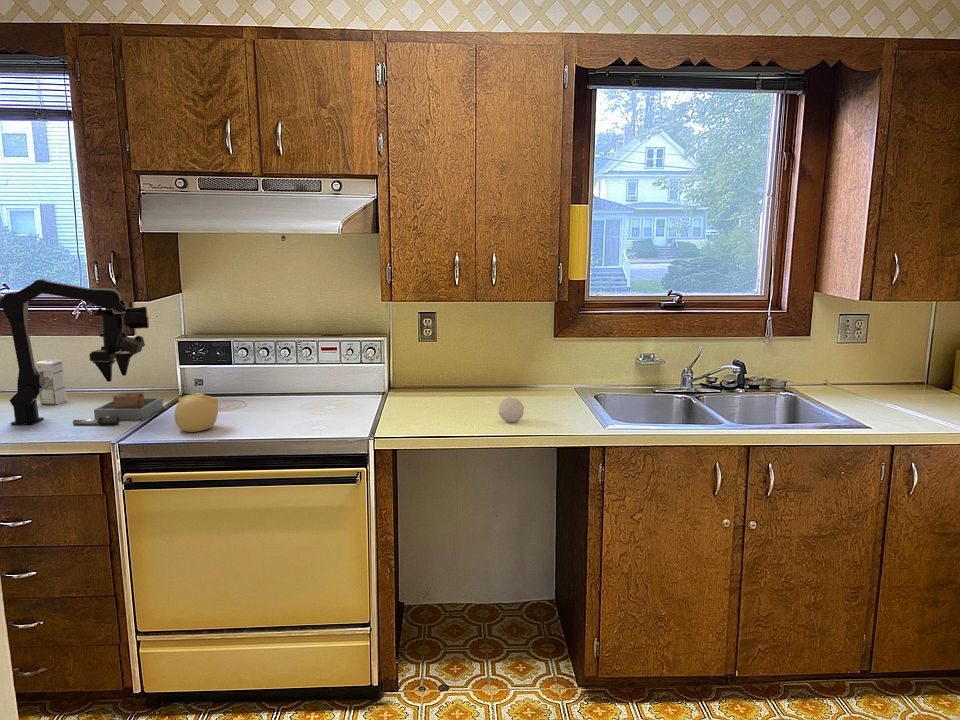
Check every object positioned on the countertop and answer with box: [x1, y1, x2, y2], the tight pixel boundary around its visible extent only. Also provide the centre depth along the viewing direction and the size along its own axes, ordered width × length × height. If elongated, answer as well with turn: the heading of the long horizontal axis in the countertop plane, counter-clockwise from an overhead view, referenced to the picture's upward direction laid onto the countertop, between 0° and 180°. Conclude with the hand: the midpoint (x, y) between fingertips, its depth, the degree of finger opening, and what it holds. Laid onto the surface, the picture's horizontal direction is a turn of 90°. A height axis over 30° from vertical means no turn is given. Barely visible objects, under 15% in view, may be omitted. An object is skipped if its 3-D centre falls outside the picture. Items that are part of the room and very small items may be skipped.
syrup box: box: [35, 359, 68, 405], centre depth 237 cm, size 6×6×14 cm
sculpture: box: [174, 392, 219, 433], centre depth 206 cm, size 12×12×11 cm
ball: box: [498, 396, 525, 424], centre depth 214 cm, size 8×8×8 cm
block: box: [112, 391, 145, 409], centre depth 223 cm, size 5×7×6 cm
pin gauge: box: [72, 416, 120, 426], centre depth 212 cm, size 13×3×3 cm, turn 90°
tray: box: [93, 397, 164, 421], centre depth 223 cm, size 15×15×4 cm
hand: (116, 378), depth 222 cm, fingers open, 9 cm apart
